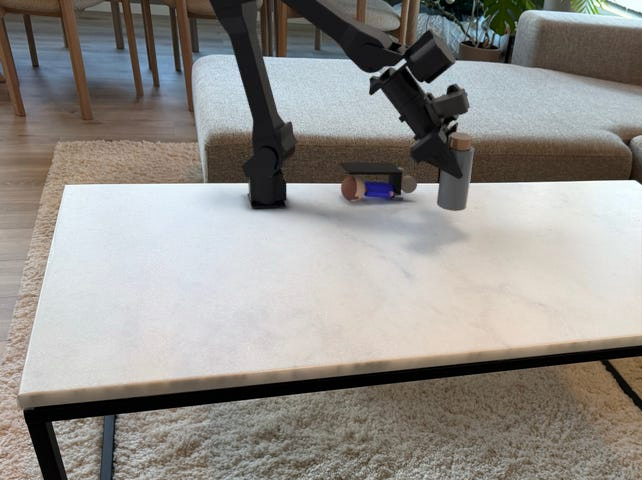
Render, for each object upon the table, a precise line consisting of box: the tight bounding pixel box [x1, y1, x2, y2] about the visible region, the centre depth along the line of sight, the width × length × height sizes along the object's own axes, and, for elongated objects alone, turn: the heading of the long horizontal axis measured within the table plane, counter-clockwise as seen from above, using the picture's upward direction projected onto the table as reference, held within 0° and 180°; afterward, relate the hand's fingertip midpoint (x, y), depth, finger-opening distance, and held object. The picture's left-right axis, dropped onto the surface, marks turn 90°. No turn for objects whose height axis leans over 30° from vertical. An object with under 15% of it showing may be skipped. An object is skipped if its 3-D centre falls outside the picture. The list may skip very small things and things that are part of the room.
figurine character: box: [339, 161, 418, 202], centre depth 141 cm, size 7×8×15 cm
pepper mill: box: [436, 131, 476, 212], centre depth 126 cm, size 6×6×13 cm
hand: (463, 172), depth 126 cm, fingers closed on pepper mill, 5 cm apart
